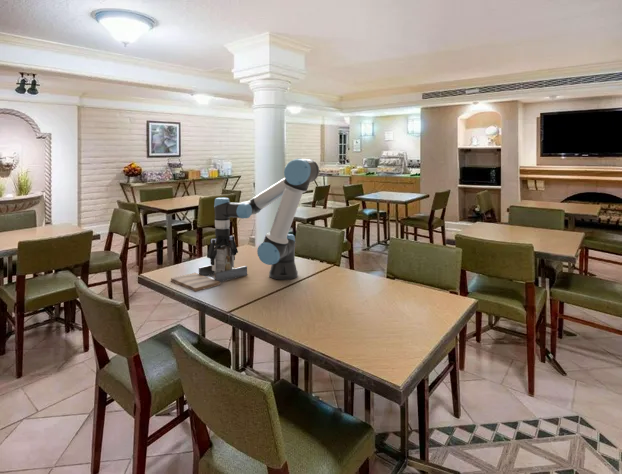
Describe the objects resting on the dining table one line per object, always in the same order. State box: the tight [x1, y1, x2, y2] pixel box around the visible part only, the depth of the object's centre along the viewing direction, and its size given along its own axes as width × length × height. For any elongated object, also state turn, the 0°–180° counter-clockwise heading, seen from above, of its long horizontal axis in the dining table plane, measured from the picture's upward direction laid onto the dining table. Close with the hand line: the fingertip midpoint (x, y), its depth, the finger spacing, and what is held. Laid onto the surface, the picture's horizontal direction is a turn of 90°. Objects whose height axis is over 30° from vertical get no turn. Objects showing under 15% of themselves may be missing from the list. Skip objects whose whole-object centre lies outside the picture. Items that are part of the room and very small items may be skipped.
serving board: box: [170, 272, 221, 292], centre depth 206 cm, size 22×14×2 cm, turn 49°
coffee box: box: [213, 245, 233, 278], centre depth 218 cm, size 9×6×16 cm
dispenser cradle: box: [198, 264, 248, 283], centre depth 219 cm, size 15×20×5 cm
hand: (223, 268), depth 218 cm, fingers closed on coffee box, 11 cm apart
